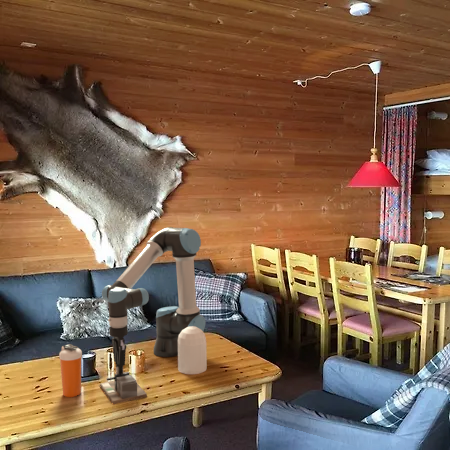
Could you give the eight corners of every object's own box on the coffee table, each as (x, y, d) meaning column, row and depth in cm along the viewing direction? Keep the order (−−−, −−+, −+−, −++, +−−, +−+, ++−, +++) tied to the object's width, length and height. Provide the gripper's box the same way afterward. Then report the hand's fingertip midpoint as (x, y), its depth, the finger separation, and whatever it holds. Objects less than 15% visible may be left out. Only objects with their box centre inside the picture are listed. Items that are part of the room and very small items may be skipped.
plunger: (106, 389, 208) (106, 375, 208) (128, 385, 213) (128, 371, 212) (113, 398, 200) (112, 383, 200) (135, 393, 205) (135, 379, 204)
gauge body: (99, 386, 216) (99, 369, 215) (131, 379, 223) (131, 364, 222) (112, 404, 198) (112, 386, 198) (146, 396, 205) (146, 379, 204)
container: (172, 368, 236) (171, 326, 234) (194, 361, 245) (194, 321, 243) (189, 376, 226) (188, 332, 224) (212, 369, 235) (212, 327, 233)
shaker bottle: (70, 400, 202) (69, 351, 201) (55, 395, 207) (54, 347, 205) (87, 392, 210) (86, 345, 208) (73, 387, 215) (71, 341, 213)
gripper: (105, 323, 216) (106, 376, 218) (114, 330, 204) (115, 387, 206) (122, 320, 219) (123, 373, 221) (132, 328, 208) (133, 383, 210)
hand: (119, 380), depth 214 cm, fingers closed
